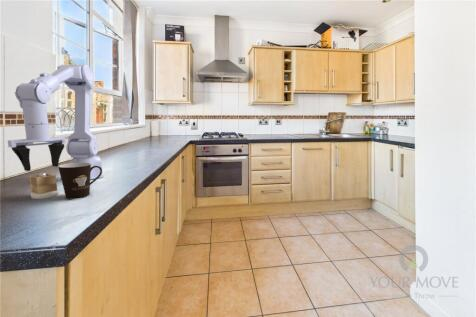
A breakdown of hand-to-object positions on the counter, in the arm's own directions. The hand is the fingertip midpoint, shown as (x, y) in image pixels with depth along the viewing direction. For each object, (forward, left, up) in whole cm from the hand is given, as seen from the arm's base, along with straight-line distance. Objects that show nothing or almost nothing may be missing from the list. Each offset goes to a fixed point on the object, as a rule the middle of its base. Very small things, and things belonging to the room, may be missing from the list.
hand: (42, 168), depth 81 cm
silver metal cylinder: (0, 0, -7) cm, 7 cm away
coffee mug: (-8, +9, -9) cm, 15 cm away
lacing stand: (0, 0, -9) cm, 9 cm away
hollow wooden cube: (0, 0, -7) cm, 7 cm away
